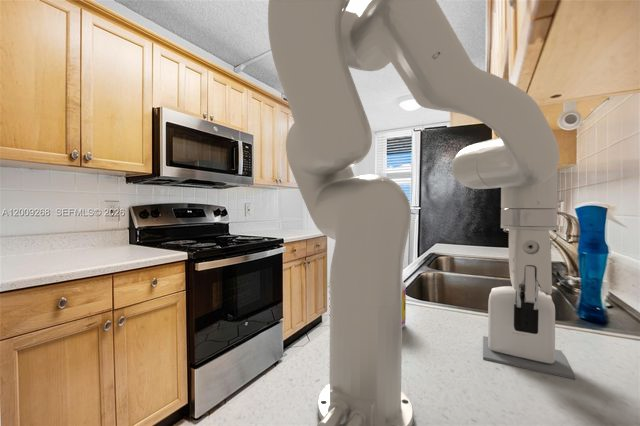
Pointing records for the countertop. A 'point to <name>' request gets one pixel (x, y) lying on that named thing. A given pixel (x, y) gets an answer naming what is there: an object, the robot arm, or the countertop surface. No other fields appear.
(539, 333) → the photo printer
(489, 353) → the mat
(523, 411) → the countertop surface
